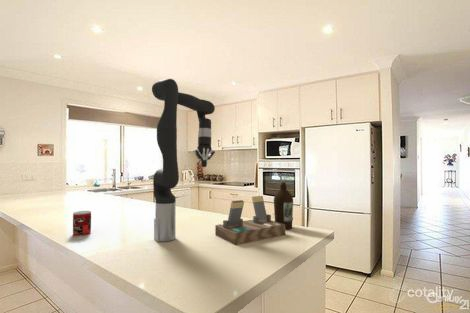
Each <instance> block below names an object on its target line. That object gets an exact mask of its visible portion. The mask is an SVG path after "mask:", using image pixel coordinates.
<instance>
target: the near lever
mask: <svg viewBox="0 0 470 313" xmlns="http://www.w3.org/2000/svg"><path fill="white" fill-rule="evenodd" d="M244 205H245V200H243V199H240V200H239V199H238V200H231V203H230V208H229V214H228V218H227V221H229V227H230V226H237V225H239V223H240V218H241V217H242V212H243V209H244ZM241 219H242V218H241Z"/></svg>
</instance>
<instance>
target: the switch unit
mask: <svg viewBox="0 0 470 313" xmlns="http://www.w3.org/2000/svg"><path fill="white" fill-rule="evenodd" d="M266 214H267V213H266ZM214 227H215V229H214V230H215V236H216V237H218V238H220V239H222V240H224V241H226V242H228V243H231V244H232V245H234V246H236V245H240V244H245V243H247V244H248V243H251V242H255V241H260V240H265V239H271V238H275V237H280V236H281V237H282V236H285V235H286V230H285V224H281V223H278V222H275V220H272V214H267V221H262V222H259V217H257V216H256V215H254V216H253V217H252V219H248V220H247V219H246V220H243V218H240V223H239V225H237V226H230V227H229V221H228V219H227V220H226V219H225V220H223V221H222V223H219V224H215V226H214Z"/></svg>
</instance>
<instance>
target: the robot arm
mask: <svg viewBox="0 0 470 313" xmlns="http://www.w3.org/2000/svg"><path fill="white" fill-rule="evenodd" d="M151 93H152V94H153V97H155V99H157V100H159V101H163V102H164V105H163V110H162V113H161V115H160V117H159V120H158V122H157V125H156V142H157V145H158V148H159V152H160V153H161V155H162V168H159V169H157V170H156V171H155V173H154V175H153V180H152V181H153V183H152V185H153V186H152V187H153V197H154V199H155V209H154V210H155V215H154V216H155V218H153V239H154V241H155V242H157V243H159V242H160V243H161V242H162V243H163V242H164V243H165V242H170V241H174V240H176V234H177V233H176V222H177V220H176V219H177V218H176V209H177V208H176V202H177V200H176V196H175V195H174V193H173V192H172V189H174V188H176V187H177V185H178V184H179V179H180V176H179V175H180V174H179V173H180V172H179V165H178V145H177V144H178V143H177V141H178V137H177V136H178V126H177V125H178V124H177V120H178V119H177V118H178V115H177V114H178V105H179V106H182V107H185V108H186V109H187V108H188V109H189V110H192V111H195V112H196V114H197V115H196V116H197V119H198V132H197V134H198V135H197V146H196V149H194V150H193V153H194V155H195V156H196V157H197V159H198V160H200V161H201V162H200V163H201V164H200V165H201V168H206V167H207V166H208V165H207V164H208V160H209V161H210V160H211V158H212V157H213V156H214V154H216V152H215V151H214V150H213V149H212V120H211V119H210V118H206V115H212V114H213V113H215V109H216V107H215V105H214V103H213V102H211V101H209V100H206V99H200V98H198V97H197V96H195V95H192V94H188V93H185V92H180V91H179V87H178V84H177V81H176V80H174V79H173V78H165V79H162V80H158V81H156V82H154V83H153V84H152V87H151Z"/></svg>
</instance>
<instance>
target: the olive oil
mask: <svg viewBox="0 0 470 313" xmlns="http://www.w3.org/2000/svg"><path fill="white" fill-rule="evenodd" d="M273 210H274V213H273V214H274V221H275V222H278V223H281V224H285V231H286V230H291V229H292V228H293V220H294V217H293V214H294V211H293V210H294V197H293V195H292V194H291V193H290V191H288V189H287V181H285V182H284V181H281V182H280V186H279V190H278V191H277V192H276V193H275V194H274V197H273Z"/></svg>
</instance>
